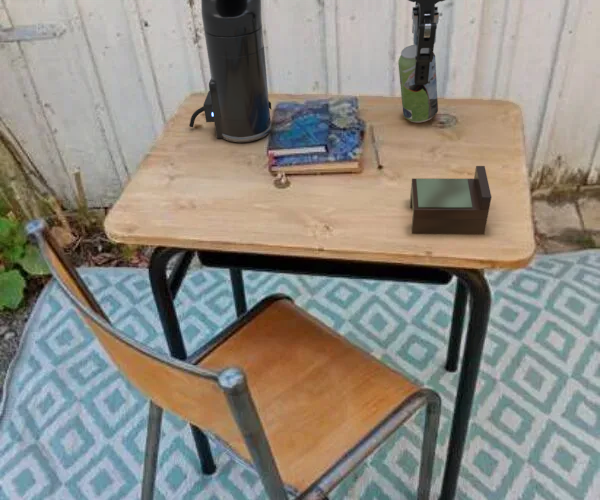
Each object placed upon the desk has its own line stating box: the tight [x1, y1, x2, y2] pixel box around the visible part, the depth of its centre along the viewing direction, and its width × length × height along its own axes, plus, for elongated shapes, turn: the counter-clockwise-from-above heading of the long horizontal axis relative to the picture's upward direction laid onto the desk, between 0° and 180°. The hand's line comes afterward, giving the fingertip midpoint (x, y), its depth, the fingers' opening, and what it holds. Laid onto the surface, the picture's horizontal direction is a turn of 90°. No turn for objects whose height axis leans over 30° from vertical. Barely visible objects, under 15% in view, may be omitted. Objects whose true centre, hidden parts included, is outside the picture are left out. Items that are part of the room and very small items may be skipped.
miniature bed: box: [409, 165, 492, 235], centre depth 91 cm, size 10×8×6 cm
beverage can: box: [397, 44, 439, 124], centre depth 110 cm, size 6×7×12 cm
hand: (420, 74), depth 108 cm, fingers closed on beverage can, 6 cm apart
